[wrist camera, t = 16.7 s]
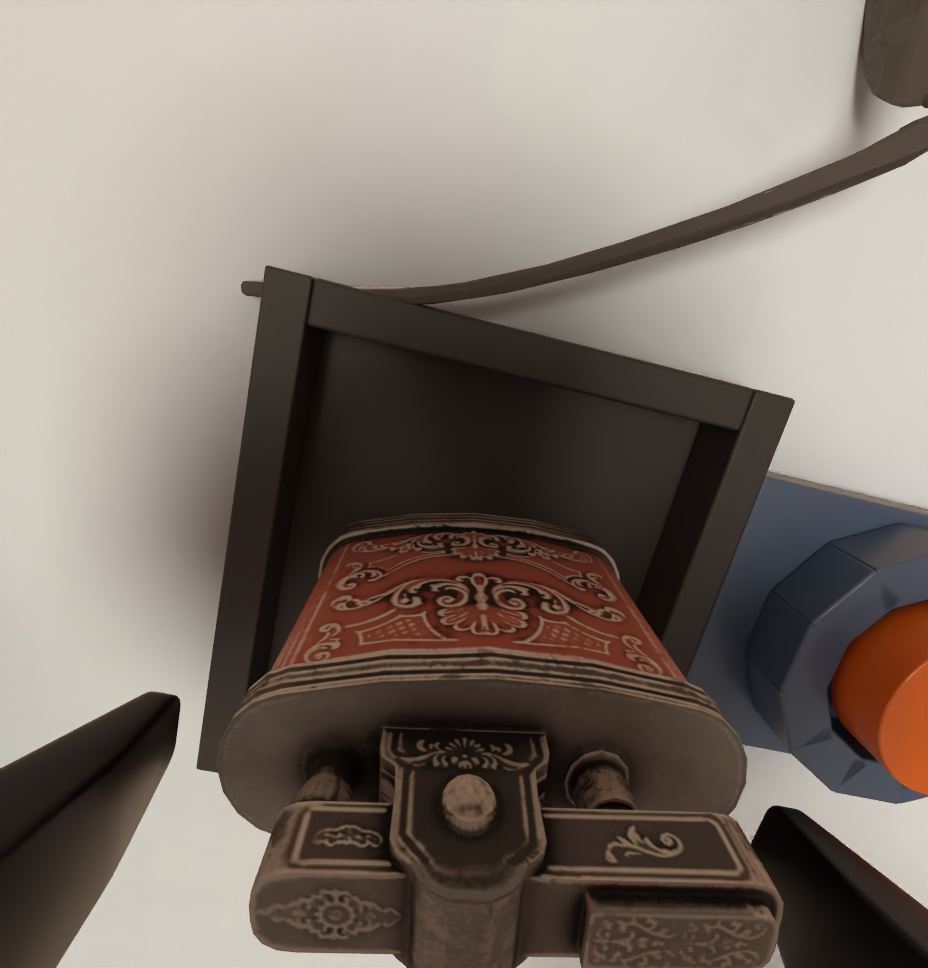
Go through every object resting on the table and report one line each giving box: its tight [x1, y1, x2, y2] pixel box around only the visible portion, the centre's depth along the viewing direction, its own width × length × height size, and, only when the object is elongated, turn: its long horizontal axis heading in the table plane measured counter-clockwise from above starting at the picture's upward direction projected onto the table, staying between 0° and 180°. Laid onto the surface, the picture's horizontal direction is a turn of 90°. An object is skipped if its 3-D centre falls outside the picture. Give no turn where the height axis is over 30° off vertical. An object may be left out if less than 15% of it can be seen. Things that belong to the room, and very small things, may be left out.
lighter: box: [217, 513, 784, 968], centre depth 11 cm, size 8×3×10 cm, turn 86°
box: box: [685, 472, 928, 804], centre depth 16 cm, size 10×8×3 cm
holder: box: [197, 266, 795, 773], centre depth 15 cm, size 12×13×2 cm
